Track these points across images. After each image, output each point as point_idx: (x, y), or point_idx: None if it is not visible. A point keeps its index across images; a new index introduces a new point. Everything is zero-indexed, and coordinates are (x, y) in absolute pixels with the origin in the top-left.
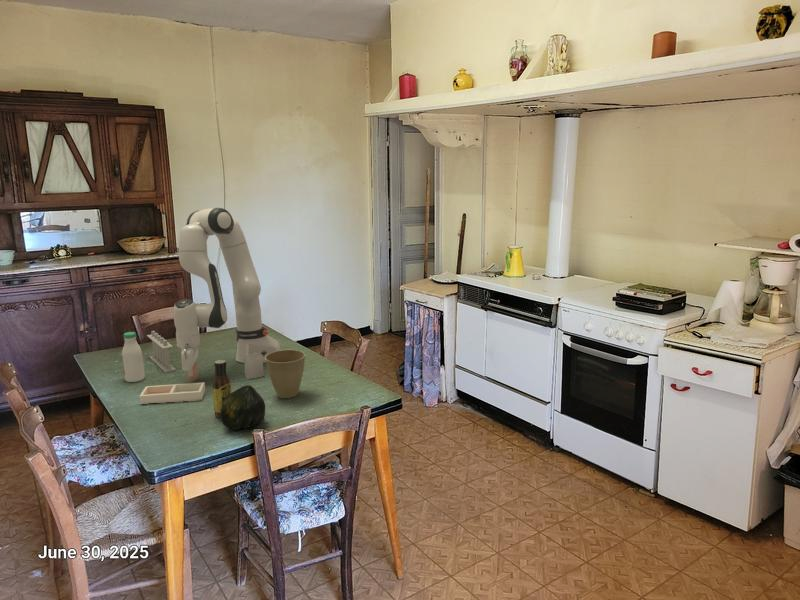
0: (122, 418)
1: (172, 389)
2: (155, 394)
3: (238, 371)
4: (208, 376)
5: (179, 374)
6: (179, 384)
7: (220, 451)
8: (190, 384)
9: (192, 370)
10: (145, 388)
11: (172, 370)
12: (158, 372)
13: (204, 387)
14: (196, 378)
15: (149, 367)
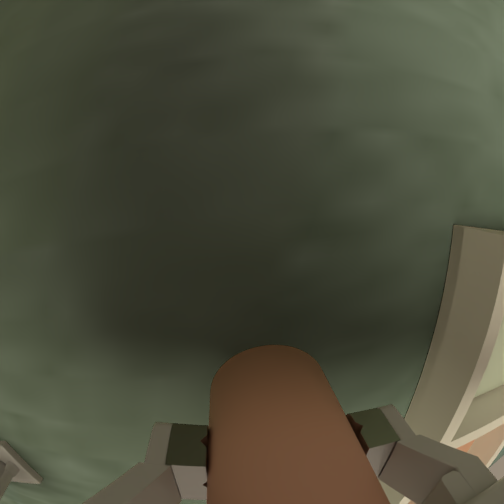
0: (500, 454)
1: (494, 425)
2: (492, 458)
3: (46, 5)
4: (73, 238)
5: (50, 439)
6: (452, 430)
7: None
8: (488, 355)
9: (444, 446)
10: None
11: (16, 455)
12: (50, 494)
13: (499, 232)
14: (308, 356)
15: (16, 496)
